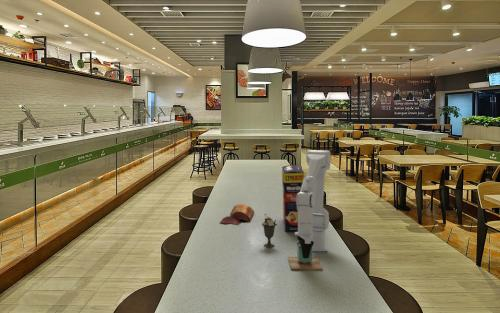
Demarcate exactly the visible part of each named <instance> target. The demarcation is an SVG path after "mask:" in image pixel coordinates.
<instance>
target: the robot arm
mask: <svg viewBox="0 0 500 313" xmlns="http://www.w3.org/2000/svg"><path fill="white" fill-rule="evenodd" d="M305 154H306V155H305V160H306V163H307V166H308V170H307V175H306V176H304V179H303V183H302V187H301V190H300V192H299V193H297V196H296V205H297V210H298V232H294V235H295V236H296V237H297V241H298V242H299V243H300V245H301V248H302V255H303V258H309V255H310V251H311V248H312V252H327V251H328V249H327V247H326V244H325V243H326V230H328V228H329V225H330V216H329V215H330V213H329V211H328V210H327V209H326V208H325V207H324V196H325V195H324V194H325V181H326V180H325V179H326V173H327V171H328V170H330V169H331V168H330V167H331V159H332V157H331V151H330V149H329V150H320V149H319V150H318V149H317V150H315V149H313V150H312V149H308V150H307V151H306V153H305Z"/></svg>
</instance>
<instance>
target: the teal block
mask: <svg viewBox="0 0 500 313" xmlns="http://www.w3.org/2000/svg"><path fill="white" fill-rule="evenodd" d="M296 257H297V258H298V261H299V262H309V261H312V257H313V251H312V248H311V251H310V255H309V258H303V255H302V248H301V245H300V243H299V241H298V242H296Z"/></svg>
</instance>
